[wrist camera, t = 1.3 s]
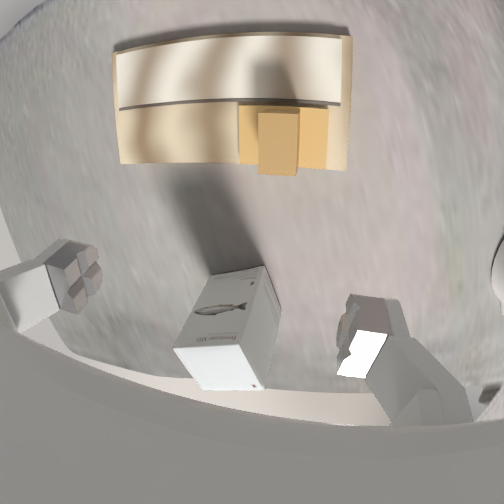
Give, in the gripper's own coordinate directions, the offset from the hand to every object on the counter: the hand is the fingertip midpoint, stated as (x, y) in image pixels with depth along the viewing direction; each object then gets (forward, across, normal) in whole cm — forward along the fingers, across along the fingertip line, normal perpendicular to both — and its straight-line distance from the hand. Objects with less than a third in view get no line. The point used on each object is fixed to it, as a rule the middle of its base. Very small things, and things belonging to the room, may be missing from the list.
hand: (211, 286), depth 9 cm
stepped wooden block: (+21, 0, -1) cm, 21 cm away
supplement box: (+23, +2, +19) cm, 30 cm away
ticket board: (+23, +6, -4) cm, 24 cm away
